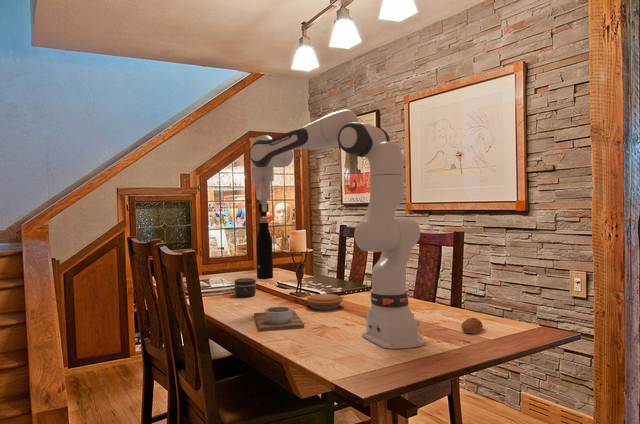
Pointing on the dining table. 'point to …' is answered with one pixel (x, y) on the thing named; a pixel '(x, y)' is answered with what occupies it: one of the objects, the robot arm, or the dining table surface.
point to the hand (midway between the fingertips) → (263, 211)
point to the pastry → (472, 326)
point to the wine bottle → (264, 248)
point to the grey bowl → (278, 315)
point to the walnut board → (266, 326)
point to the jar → (245, 287)
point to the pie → (324, 301)
